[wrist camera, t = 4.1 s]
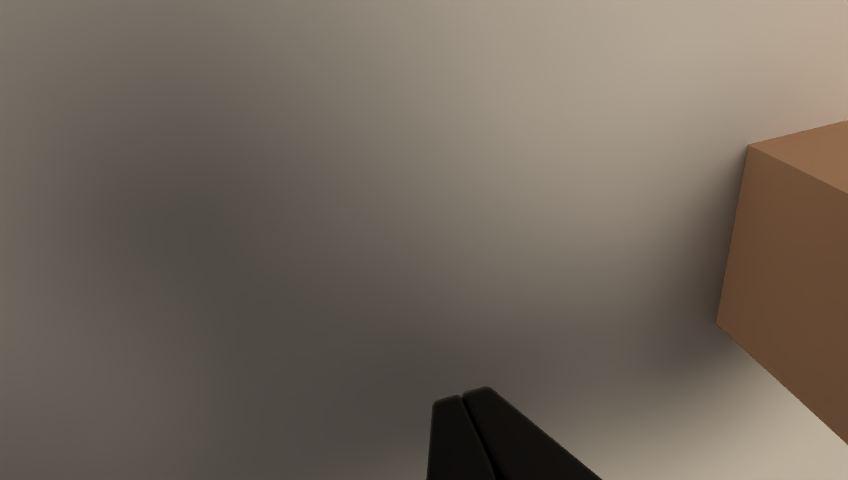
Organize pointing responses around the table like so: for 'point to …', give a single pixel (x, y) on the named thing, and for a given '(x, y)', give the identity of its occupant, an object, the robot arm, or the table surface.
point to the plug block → (794, 267)
